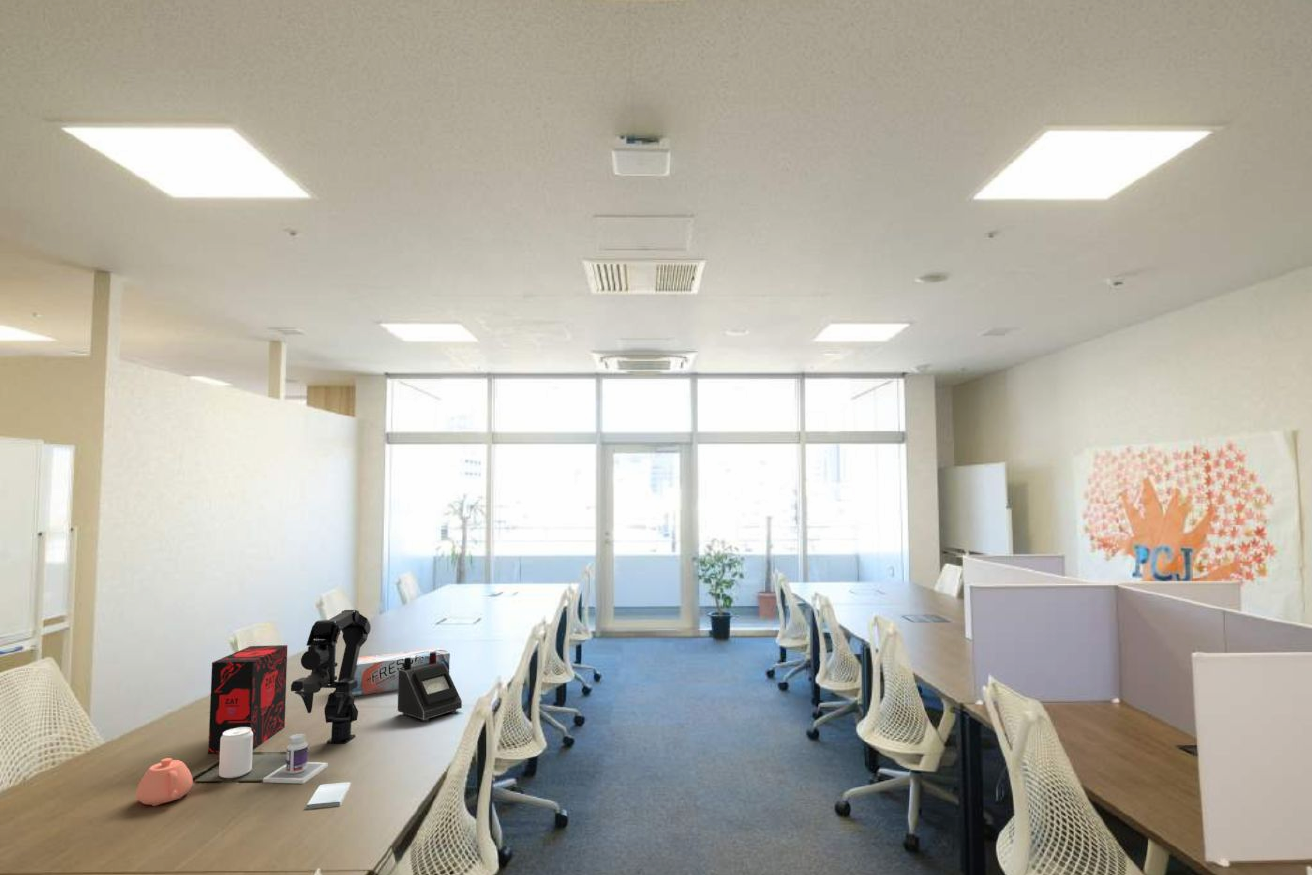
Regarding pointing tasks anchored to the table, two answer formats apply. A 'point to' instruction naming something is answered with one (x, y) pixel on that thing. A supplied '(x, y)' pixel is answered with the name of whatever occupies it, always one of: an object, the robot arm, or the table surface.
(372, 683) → the soda box
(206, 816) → the table surface
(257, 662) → the box
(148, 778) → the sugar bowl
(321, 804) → the hard drive
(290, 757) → the pill bottle
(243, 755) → the beverage can
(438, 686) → the voltmeter
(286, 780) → the base slab
